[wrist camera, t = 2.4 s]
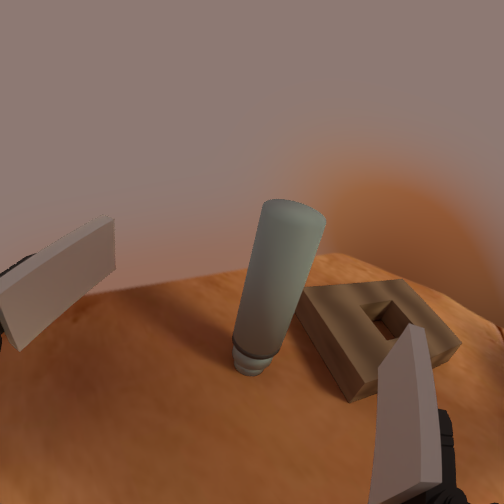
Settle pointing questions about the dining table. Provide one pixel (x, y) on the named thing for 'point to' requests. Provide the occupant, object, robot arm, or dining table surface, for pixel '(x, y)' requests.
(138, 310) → the dining table surface
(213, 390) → the dining table surface
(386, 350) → the board
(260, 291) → the grey rounded cylinder
